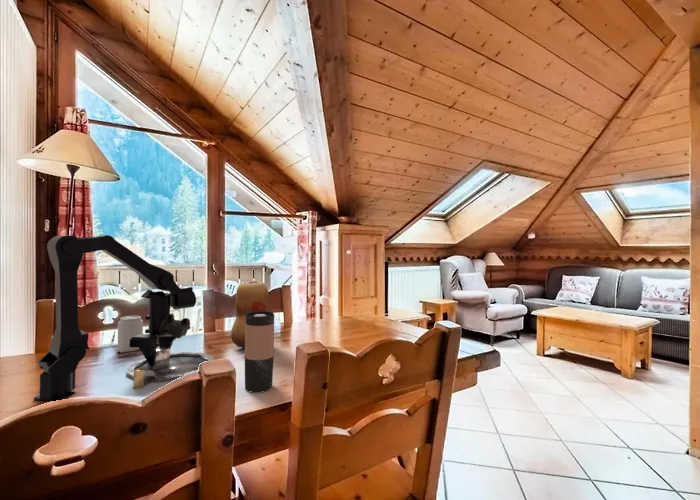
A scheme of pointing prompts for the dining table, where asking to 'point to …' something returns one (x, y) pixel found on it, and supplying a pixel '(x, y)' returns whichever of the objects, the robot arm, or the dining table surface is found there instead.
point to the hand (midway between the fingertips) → (158, 362)
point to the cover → (161, 358)
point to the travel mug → (259, 351)
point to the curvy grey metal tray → (177, 368)
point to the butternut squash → (248, 307)
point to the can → (128, 332)
